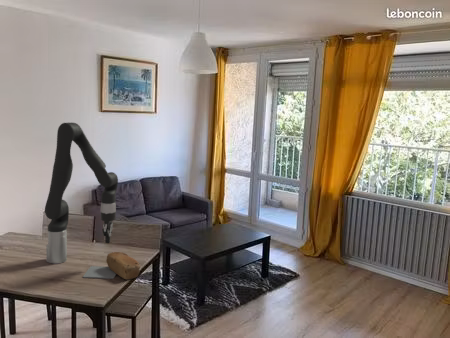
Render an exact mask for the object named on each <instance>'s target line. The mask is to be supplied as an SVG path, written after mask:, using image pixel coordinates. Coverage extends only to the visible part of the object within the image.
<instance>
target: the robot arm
mask: <svg viewBox="0 0 450 338" xmlns="http://www.w3.org/2000/svg"><path fill="white" fill-rule="evenodd" d="M73 142H74V144H75V145H77V147H78V148H79V150H80V151H81V154H82V157H83V159H84V161H85V163H86V164H87V165H88V166H89V168H90V169H91V170H92V172H93V174H94V176H95V178H96V180H97V181H98V183H99V184H100V185H101V187H103V189H104V190H103V191H102V192H101V197H100V198H101V200H100V201H101V203H100V220H101V221H102V222H104V223H103V225H102V226H103V227H102V234H103V237H105V240H104V241H105V244H110V243H111V236H112V233H113V227H114V222H113V221H116V218H117V217H116V216H117V205H116V200H117V199H116V197H117V196H116V194H117V190H118V185H119V184H118V183H119V178H118V175H117V174H116V173H115V172H112V171H109V172H108V171H107V170H106V166H107V165H106V163H105V162H104V160H103V159H102V158H101V157H100V155H99V154H98V153H97V151H96V150H95V149H94V147H93V146H92V144H91V143H90V141H89V139H88V137H87V135H86V134H85V132H84V130H83V128H82V127H81V126H80V125H79V124H78V123H76V122H62V123H60V125H59V126H58V128H57V134H56V148H55V156H54V161H53V162H54V163H53V165H52V174H51V180H50V185H49V192H48V194H47V195H48V196H47V200H46V202H45V206H44V213H45V216H46V218H47V219H49V220H50V222H49V223H48V226H47V244H46V245H45V246H46V263H50V264H61V263H64V262H66V261H67V260H68V259H67V258H68V254H67V253H68V252H67V251H68V249H67V248H68V247H67V246H68V242H67V241H68V239H67V238H68V236H67V235H68V233H67V232H68V225H69V217H70V216H69V214H70V208H69V204H68V202H67V201H66V200H65V199H63V197H64V193H65V191H66V189H67V187H68V186H69V184H70V181H71V179H72V175H73V168H74V164H73V159H72V156H71V149H72V143H73Z"/></svg>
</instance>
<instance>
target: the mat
mask: <svg viewBox="0 0 450 338" xmlns="http://www.w3.org/2000/svg"><path fill="white" fill-rule="evenodd" d="M116 276H117V274H116V273H115V272H114V271H112V270H111V269H110V268H109V267H108V266H102V265H101V266H100V265H99V266H98V265H91V266H89V268H88V269H87V270H86V272H85V273H84V275H82V278H83V279H107V280H110V279H111V280H113V279H115V278H116Z"/></svg>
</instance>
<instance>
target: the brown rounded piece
mask: <svg viewBox="0 0 450 338" xmlns="http://www.w3.org/2000/svg"><path fill="white" fill-rule="evenodd" d="M106 264H107V267H109V268H110V269H111V270H112V271H114V272H115V273H116V275H118V276H119V277H120V278H121V279H123V280H124V279H125V280H126V281H128V280H132V279H136V278H138V276H139V275H140V269H141V265H140V263H139V261H138V260H136V259H135V258H133V257H132V256H130V255H128V254H127V253H125V252H121V251H114V252H110V253H108V254H107V256H106Z"/></svg>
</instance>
